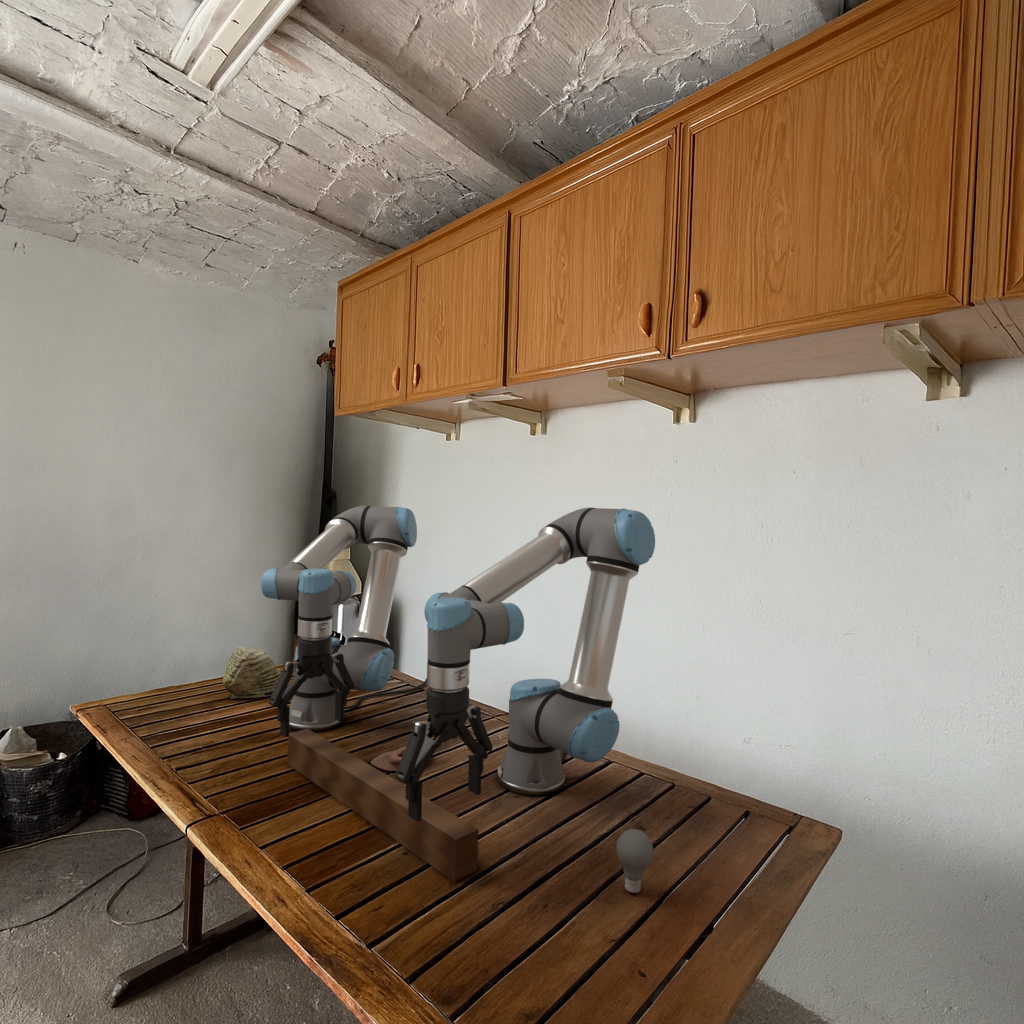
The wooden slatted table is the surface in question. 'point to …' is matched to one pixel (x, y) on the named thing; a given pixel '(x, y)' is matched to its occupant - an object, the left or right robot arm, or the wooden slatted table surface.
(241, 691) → the fossil
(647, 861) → the light bulb
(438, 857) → the bar
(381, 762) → the anatomical model
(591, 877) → the wooden slatted table surface
